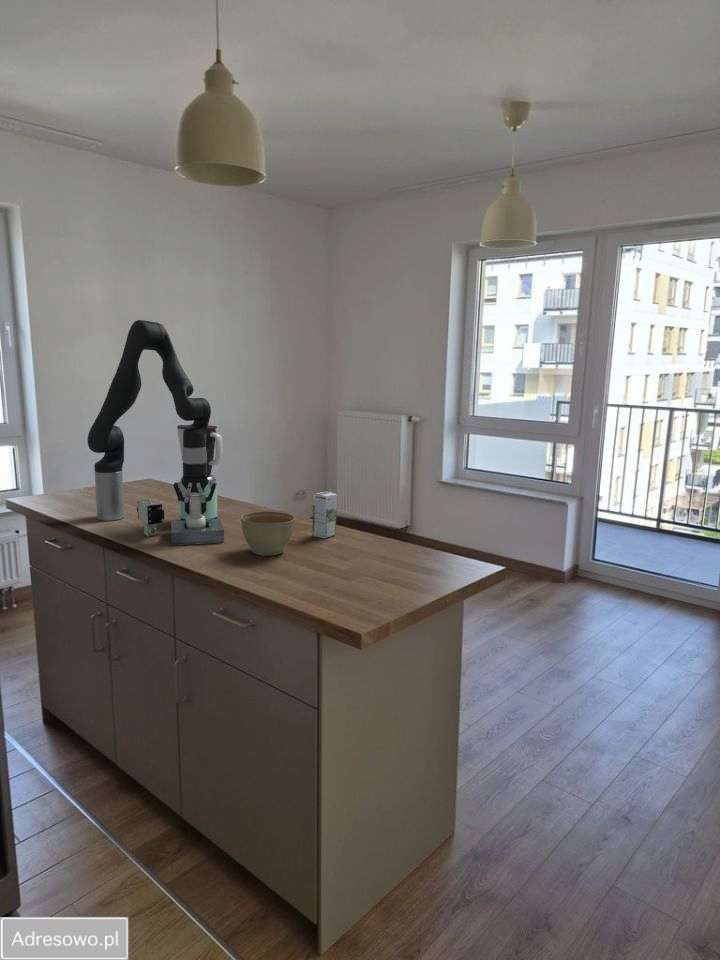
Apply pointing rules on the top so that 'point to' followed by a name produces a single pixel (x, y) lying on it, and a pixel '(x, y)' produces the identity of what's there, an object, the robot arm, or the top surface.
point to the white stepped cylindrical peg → (195, 513)
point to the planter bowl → (267, 531)
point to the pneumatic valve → (150, 515)
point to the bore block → (197, 532)
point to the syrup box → (324, 514)
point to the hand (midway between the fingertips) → (195, 513)
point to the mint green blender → (210, 445)
